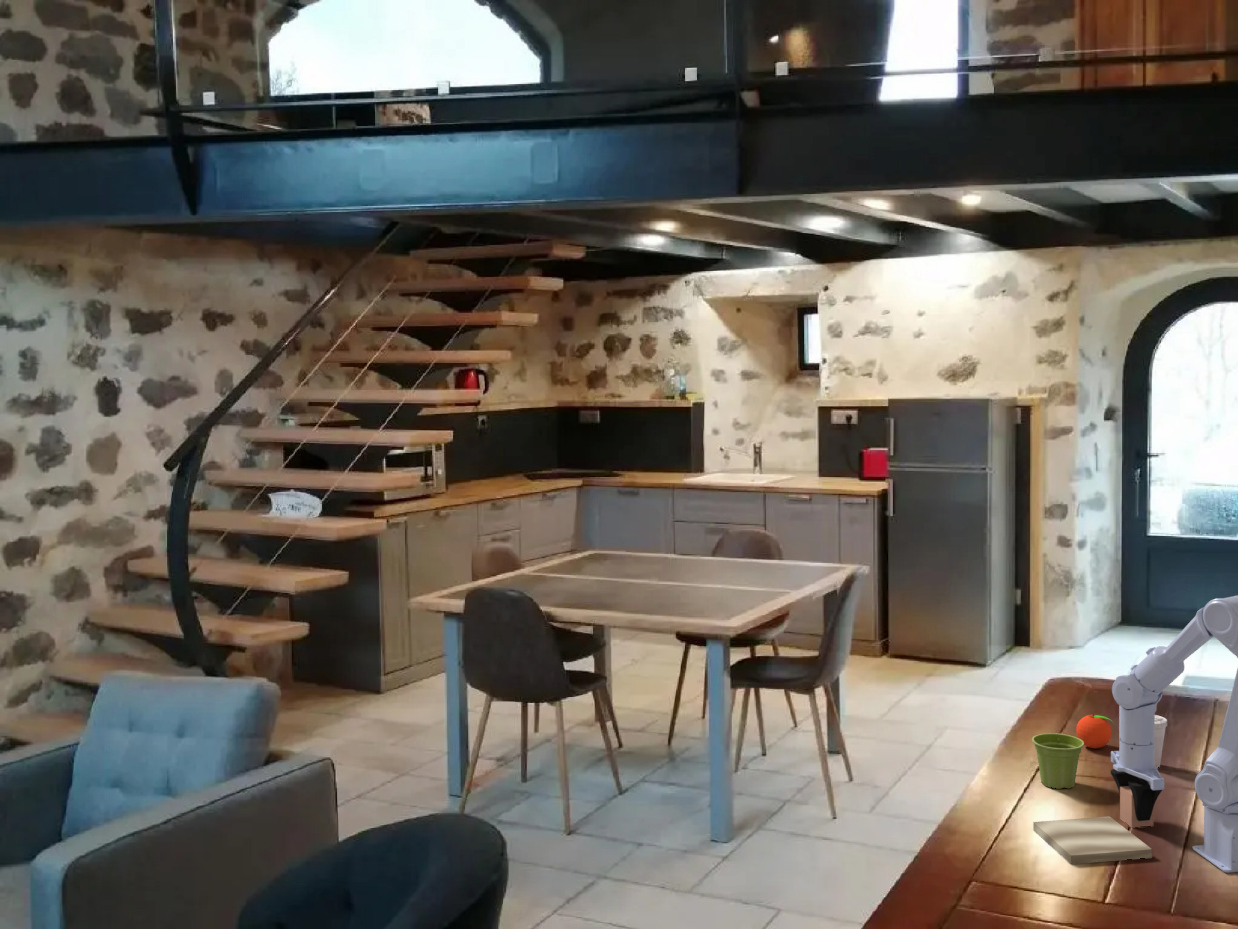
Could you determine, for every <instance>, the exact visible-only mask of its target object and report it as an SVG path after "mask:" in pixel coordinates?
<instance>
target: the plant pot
mask: <svg viewBox="0 0 1238 929" xmlns="http://www.w3.org/2000/svg"><path fill="white" fill-rule="evenodd" d="M1031 742H1032V743H1033V744H1034V748H1035V751H1036V756H1037V761H1038V763H1037V764H1038V768H1039V776H1040V782H1041V783H1042V784H1043V785H1044V786H1045V785H1046V786H1045V787H1047V786H1048V787H1047V788H1051V787H1052V789H1055V788H1056V789H1057V790H1061V789H1063V788H1066V789H1072V788H1073V787H1075V783H1076V779H1077V778H1076V777H1077V772H1078V766H1079V759H1080V754H1081V753H1082V748H1084V746H1085V745H1084V742H1083V741H1082V740H1081V739H1079V738H1078V736H1077V737H1076V736H1073V735H1069V734H1065V733H1056V732H1055V733H1052V732H1051V733H1040V734H1037V735H1034V736H1032V738H1031ZM1071 787H1072V788H1071Z"/></svg>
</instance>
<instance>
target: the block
mask: <svg viewBox="0 0 1238 929" xmlns="http://www.w3.org/2000/svg"><path fill="white" fill-rule="evenodd" d="M1119 797H1120V798H1119V820H1120V821H1122V822H1123V823H1125V822H1126V823H1127V824H1128V825H1129V826H1128V825H1127V824H1126V823H1125V824H1126V825H1127V826H1128V827H1130V828H1131V827H1132V828H1131V829H1136V828H1135V827H1138V828H1141V827H1140V826H1149V825H1153V826H1154V810H1153V811H1152V814H1151V818H1150V820H1147V821H1138V820H1137V818H1136V813H1135V804H1134V798H1133V794H1132V791H1131V789H1130V787H1129V786H1123V787H1120V794H1119Z"/></svg>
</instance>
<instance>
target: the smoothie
mask: <svg viewBox="0 0 1238 929" xmlns="http://www.w3.org/2000/svg"><path fill="white" fill-rule="evenodd" d="M1167 726H1168V719H1167V718H1165V717H1163V716H1162V715H1161V716H1160V715H1157V714H1155V733H1154V742H1155V749H1154V765H1155V766H1156V768H1157V769H1159V768H1160V767H1161V762H1162V761H1161V760H1162V753H1163V748H1164V739H1165V734H1166V727H1167ZM1158 767H1159V768H1158Z"/></svg>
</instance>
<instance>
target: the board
mask: <svg viewBox="0 0 1238 929" xmlns="http://www.w3.org/2000/svg"><path fill="white" fill-rule="evenodd" d="M1033 831H1034V832H1035V833H1036V834H1037V835H1038V836H1039V837H1040V838H1042V839H1043V841H1044V842H1045V843H1046V844H1048V845H1049V846H1050V847H1051V848H1052V849H1053V850H1054V851H1056V853H1058V854H1059V855H1060V857H1062V858H1063V859H1064V860H1065V861H1066V862H1068V864H1070V865H1078V864H1091V863H1104V862H1116V861H1128V860H1127V859H1132V860H1141V859H1140V858H1145V859H1152V858H1153V849H1152V848H1151V847H1150V846H1149V845H1148V844H1146V843H1145V842H1143V841H1142V840H1141V839H1139V837H1137V836H1135V834H1133V833H1132V832H1130V831H1129V830H1128V829H1127V828H1125V827H1124V826H1122V825H1121V824H1120V823H1119V822H1117V820H1115V819H1114V818H1113V817H1111V816H1096V817H1083V818H1069V819H1055V820H1043V821H1033Z"/></svg>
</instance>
